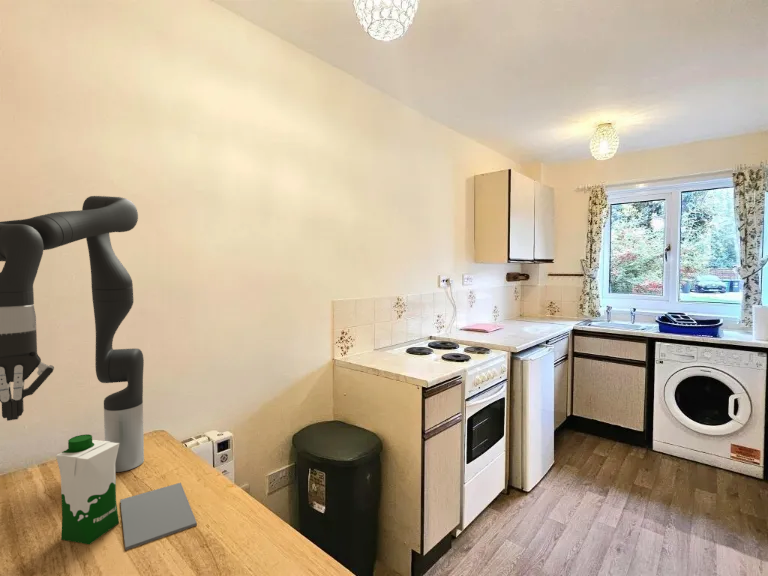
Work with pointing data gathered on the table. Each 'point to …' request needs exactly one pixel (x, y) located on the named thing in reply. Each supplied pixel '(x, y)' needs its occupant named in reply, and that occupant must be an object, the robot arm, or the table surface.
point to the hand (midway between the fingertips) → (13, 418)
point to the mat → (155, 515)
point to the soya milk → (88, 488)
